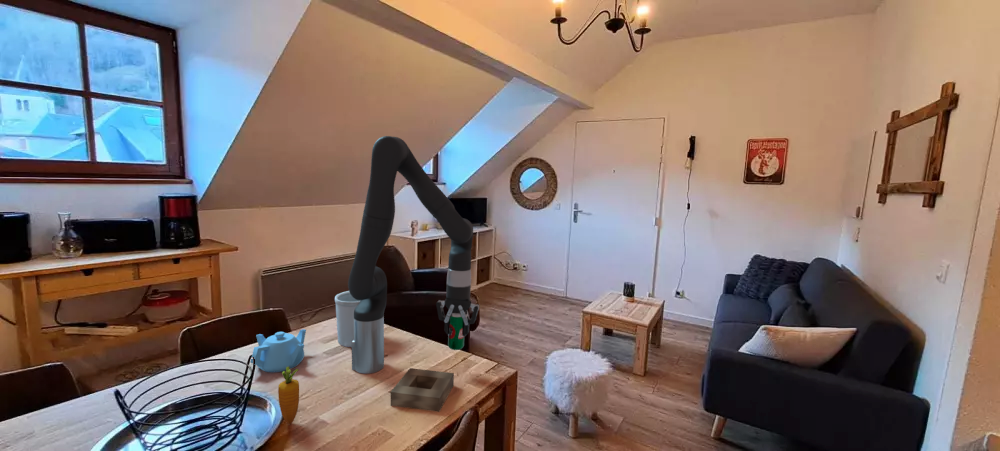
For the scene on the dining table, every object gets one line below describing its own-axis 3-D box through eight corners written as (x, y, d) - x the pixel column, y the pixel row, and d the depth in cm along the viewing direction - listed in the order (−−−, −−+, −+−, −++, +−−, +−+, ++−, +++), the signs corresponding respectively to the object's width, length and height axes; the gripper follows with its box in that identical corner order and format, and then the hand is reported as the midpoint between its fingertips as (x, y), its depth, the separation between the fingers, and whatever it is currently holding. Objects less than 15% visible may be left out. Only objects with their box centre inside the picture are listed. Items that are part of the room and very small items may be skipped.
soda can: (461, 351, 126) (462, 315, 124) (445, 349, 127) (447, 313, 125) (465, 345, 131) (467, 309, 129) (450, 343, 132) (452, 307, 130)
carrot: (284, 418, 104) (282, 363, 102) (304, 417, 105) (302, 363, 103) (275, 430, 99) (272, 373, 97) (296, 430, 100) (294, 372, 98)
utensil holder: (345, 351, 143) (344, 304, 141) (329, 338, 154) (328, 294, 152) (383, 341, 153) (383, 296, 151) (366, 329, 164) (366, 287, 162)
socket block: (390, 405, 111) (390, 391, 111) (409, 380, 125) (409, 368, 124) (439, 411, 109) (439, 398, 109) (453, 385, 123) (453, 373, 122)
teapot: (257, 357, 137) (256, 327, 136) (306, 350, 143) (305, 321, 142) (250, 378, 123) (248, 345, 122) (304, 370, 129) (303, 338, 128)
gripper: (433, 283, 123) (431, 336, 126) (478, 288, 121) (476, 341, 124) (440, 277, 131) (438, 327, 133) (483, 281, 129) (480, 332, 131)
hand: (456, 333), depth 128 cm, fingers closed on soda can, 5 cm apart
